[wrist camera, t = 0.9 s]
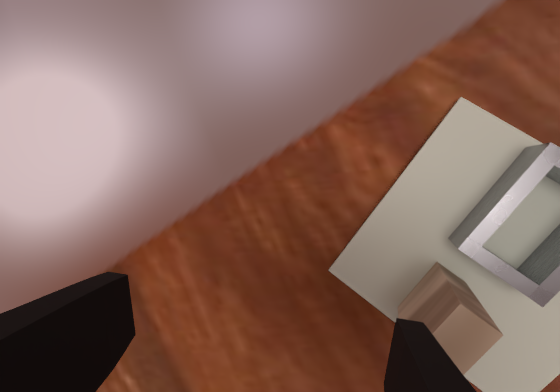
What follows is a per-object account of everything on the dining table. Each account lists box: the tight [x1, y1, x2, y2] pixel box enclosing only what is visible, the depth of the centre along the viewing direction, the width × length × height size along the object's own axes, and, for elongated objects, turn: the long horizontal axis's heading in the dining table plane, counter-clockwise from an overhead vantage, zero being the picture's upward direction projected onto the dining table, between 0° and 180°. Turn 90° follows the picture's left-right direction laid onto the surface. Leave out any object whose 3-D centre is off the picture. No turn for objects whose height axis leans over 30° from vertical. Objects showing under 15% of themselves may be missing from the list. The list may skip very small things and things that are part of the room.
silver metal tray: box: [448, 142, 560, 307], centre depth 17 cm, size 5×7×3 cm
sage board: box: [328, 97, 560, 392], centre depth 20 cm, size 14×14×1 cm
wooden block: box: [398, 262, 503, 375], centre depth 17 cm, size 2×4×7 cm, turn 144°
